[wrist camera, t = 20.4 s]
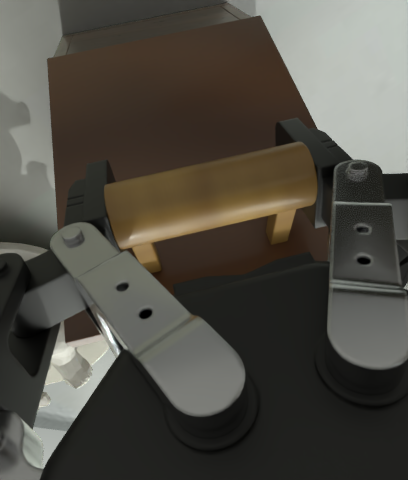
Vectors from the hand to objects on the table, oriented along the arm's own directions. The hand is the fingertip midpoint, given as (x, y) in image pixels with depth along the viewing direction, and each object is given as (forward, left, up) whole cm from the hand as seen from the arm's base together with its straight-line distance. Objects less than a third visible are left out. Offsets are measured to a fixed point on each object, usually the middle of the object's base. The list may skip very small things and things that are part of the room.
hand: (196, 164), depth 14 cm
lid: (0, -2, -4) cm, 5 cm away
